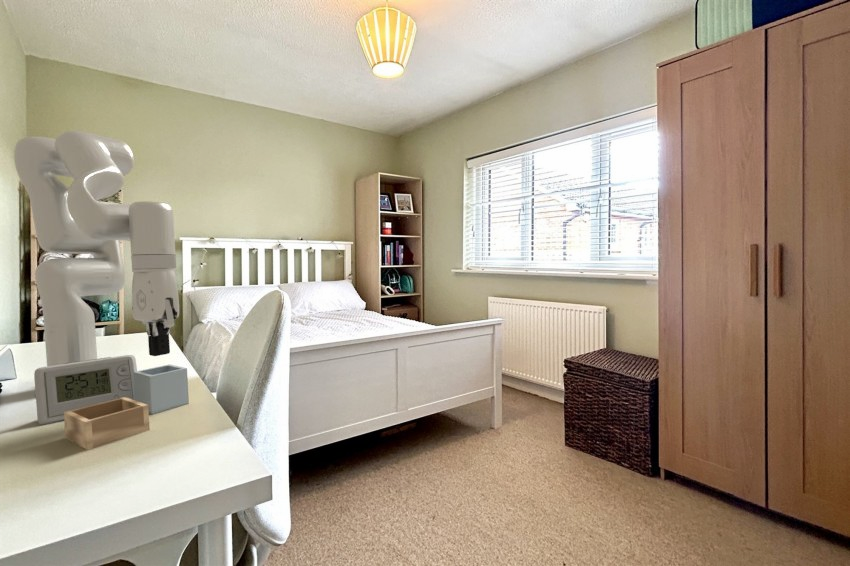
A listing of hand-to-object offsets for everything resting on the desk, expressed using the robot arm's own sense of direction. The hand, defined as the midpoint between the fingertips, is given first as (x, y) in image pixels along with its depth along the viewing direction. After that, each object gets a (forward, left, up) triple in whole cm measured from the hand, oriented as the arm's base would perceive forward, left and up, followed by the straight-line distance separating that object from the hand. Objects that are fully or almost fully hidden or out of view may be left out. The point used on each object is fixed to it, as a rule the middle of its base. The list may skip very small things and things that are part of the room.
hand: (159, 354), depth 86 cm
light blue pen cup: (0, 0, -11) cm, 11 cm away
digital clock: (-10, -9, -12) cm, 17 cm away
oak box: (+7, -12, -11) cm, 18 cm away
